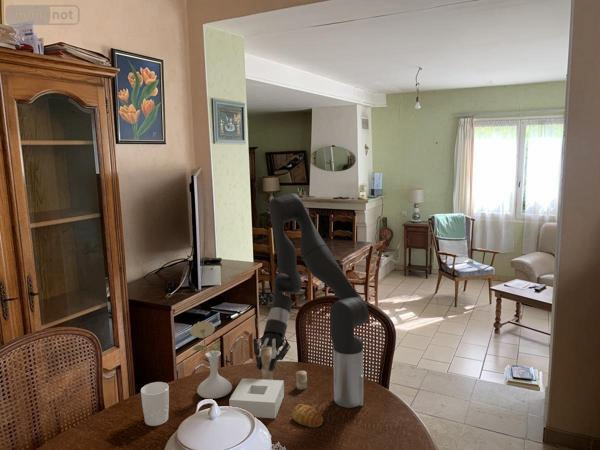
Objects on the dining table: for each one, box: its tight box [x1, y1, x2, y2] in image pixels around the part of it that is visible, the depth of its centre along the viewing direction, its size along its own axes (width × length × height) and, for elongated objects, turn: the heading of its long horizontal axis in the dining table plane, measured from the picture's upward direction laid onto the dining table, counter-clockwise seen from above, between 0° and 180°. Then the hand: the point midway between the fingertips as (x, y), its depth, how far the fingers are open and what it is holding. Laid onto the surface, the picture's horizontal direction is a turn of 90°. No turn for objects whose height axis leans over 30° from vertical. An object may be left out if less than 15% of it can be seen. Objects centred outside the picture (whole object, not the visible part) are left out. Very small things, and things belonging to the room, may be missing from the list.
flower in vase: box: [189, 320, 233, 400], centre depth 149 cm, size 13×11×25 cm
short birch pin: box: [295, 370, 308, 391], centre depth 153 cm, size 4×4×5 cm
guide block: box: [228, 377, 285, 419], centre depth 142 cm, size 14×14×5 cm
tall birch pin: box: [260, 345, 274, 380], centre depth 154 cm, size 4×4×13 cm
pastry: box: [291, 403, 324, 428], centre depth 133 cm, size 9×7×4 cm
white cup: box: [140, 381, 170, 427], centre depth 135 cm, size 8×8×10 cm
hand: (264, 369), depth 153 cm, fingers closed on tall birch pin, 3 cm apart
